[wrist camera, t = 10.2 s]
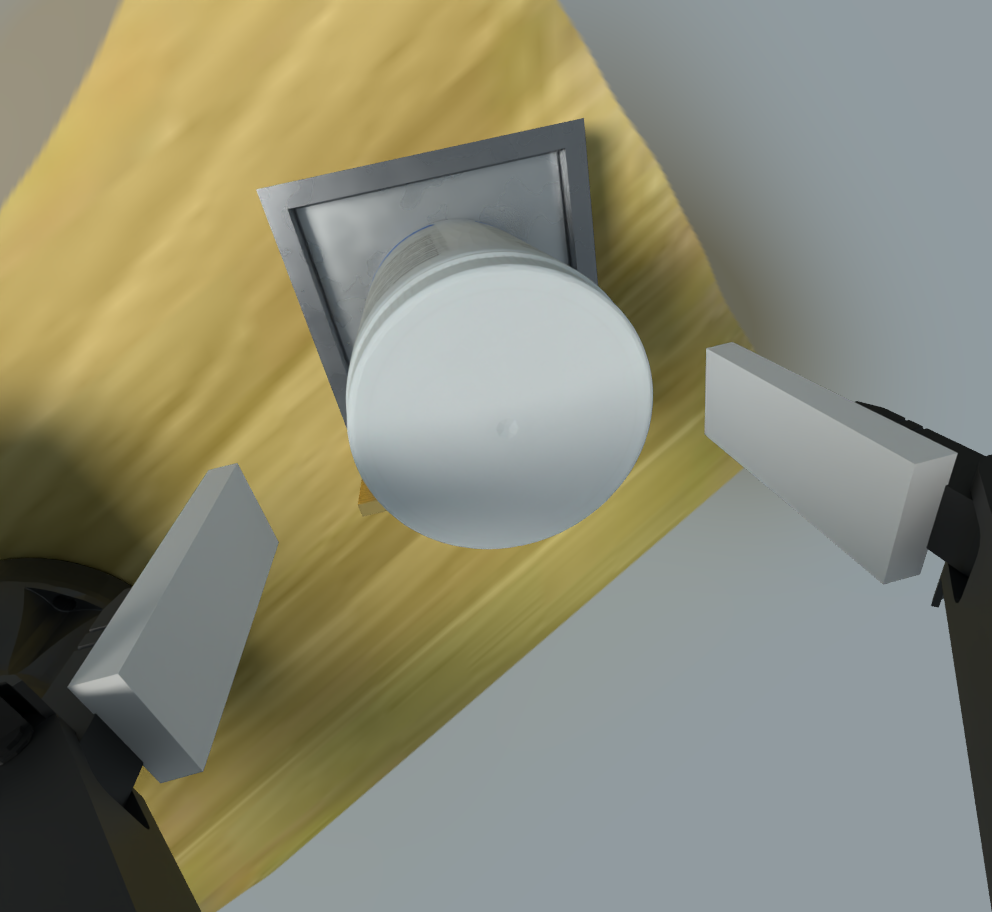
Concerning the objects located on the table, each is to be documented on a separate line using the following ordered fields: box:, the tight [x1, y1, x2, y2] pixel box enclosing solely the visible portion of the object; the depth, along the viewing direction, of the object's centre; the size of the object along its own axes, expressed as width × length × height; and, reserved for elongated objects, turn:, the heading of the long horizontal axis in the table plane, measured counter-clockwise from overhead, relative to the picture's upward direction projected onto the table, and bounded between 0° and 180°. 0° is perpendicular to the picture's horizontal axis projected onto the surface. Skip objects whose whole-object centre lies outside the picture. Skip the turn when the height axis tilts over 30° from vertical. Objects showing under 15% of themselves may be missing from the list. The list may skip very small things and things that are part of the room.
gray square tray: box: [256, 118, 598, 516], centre depth 27 cm, size 15×16×8 cm
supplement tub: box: [346, 219, 653, 549], centre depth 21 cm, size 10×10×15 cm
